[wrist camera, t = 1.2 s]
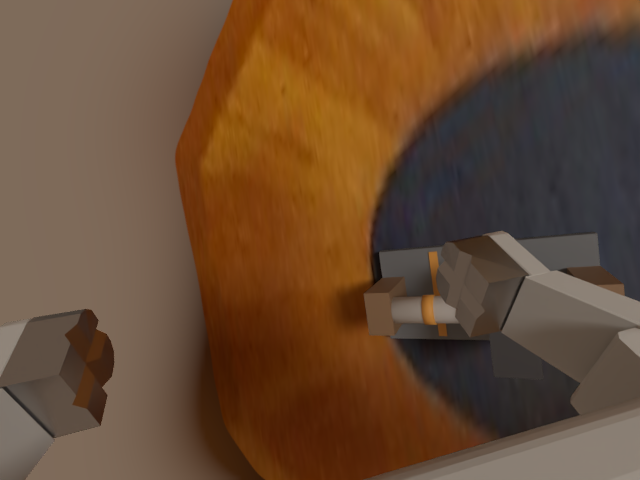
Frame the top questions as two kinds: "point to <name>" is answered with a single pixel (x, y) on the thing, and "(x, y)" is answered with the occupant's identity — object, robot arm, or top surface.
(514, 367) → the collar
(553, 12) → the top surface
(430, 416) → the top surface
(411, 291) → the pipe rig
